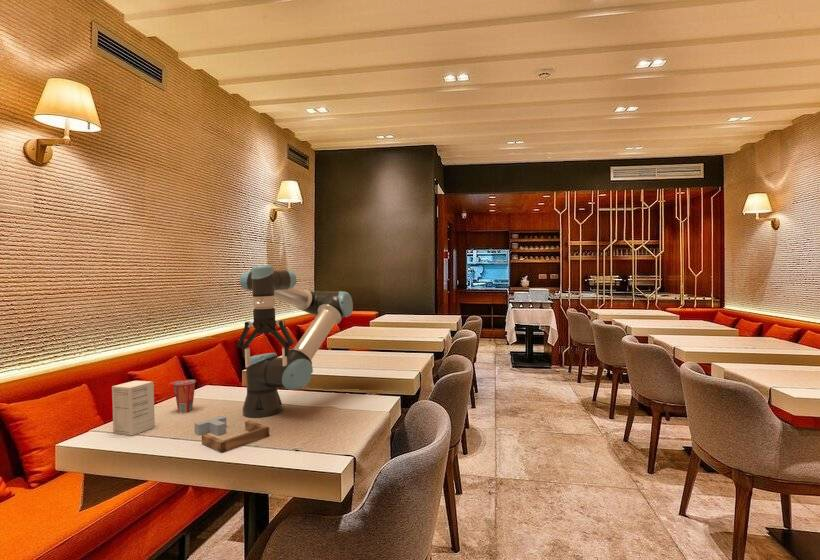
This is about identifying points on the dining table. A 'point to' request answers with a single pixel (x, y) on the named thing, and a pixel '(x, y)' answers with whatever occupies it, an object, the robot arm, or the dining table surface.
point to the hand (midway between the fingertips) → (266, 365)
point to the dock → (237, 437)
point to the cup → (184, 394)
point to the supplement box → (133, 407)
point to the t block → (211, 426)
